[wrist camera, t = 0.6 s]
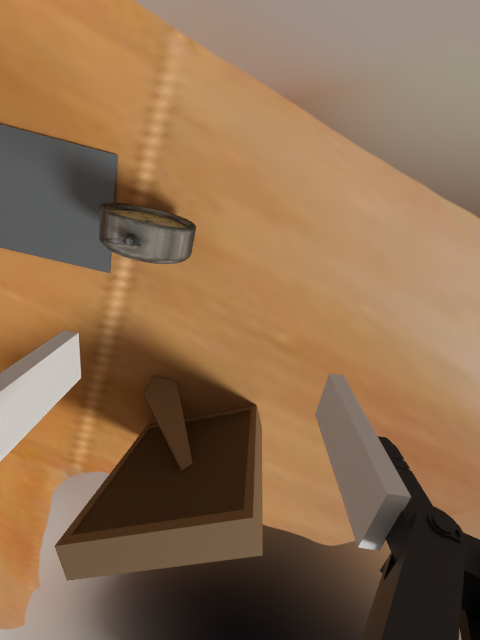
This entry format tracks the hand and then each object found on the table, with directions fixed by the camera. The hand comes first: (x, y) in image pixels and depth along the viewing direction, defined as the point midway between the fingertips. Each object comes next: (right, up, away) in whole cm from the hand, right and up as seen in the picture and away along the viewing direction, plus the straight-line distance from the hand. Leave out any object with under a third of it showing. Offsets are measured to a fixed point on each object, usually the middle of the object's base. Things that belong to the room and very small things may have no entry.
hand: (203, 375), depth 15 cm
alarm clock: (-9, +16, +26) cm, 32 cm away
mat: (-26, +20, +24) cm, 40 cm away
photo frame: (-6, -12, +37) cm, 40 cm away
